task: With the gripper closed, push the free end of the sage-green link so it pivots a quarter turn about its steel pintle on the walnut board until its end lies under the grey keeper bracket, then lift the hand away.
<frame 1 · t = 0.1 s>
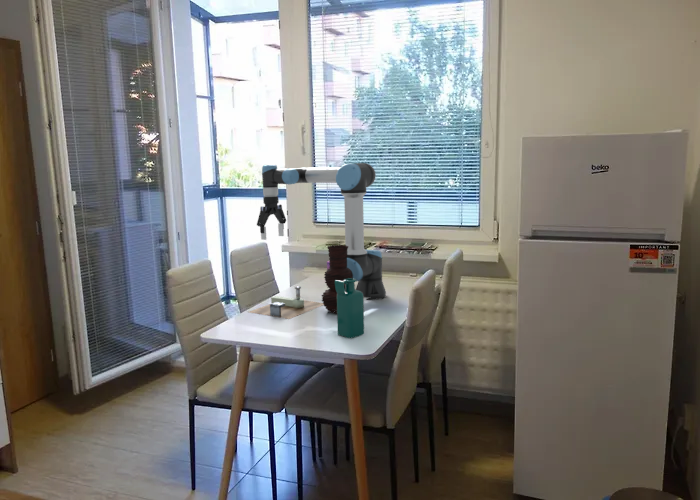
hand: (272, 237, 284), 28 cm above the table, fingers open, 13 cm apart
keeper: (277, 309, 238), on the board, point 4 cm above the table
pintle: (298, 293, 250), point 8 cm above the table
vase: (339, 314, 243), on the table
link: (287, 301, 254), point 3 cm above the table, hinge at 0.0°
box: (337, 283, 305), on the table
green bottle: (349, 335, 215), on the table
board: (288, 310, 250), on the table
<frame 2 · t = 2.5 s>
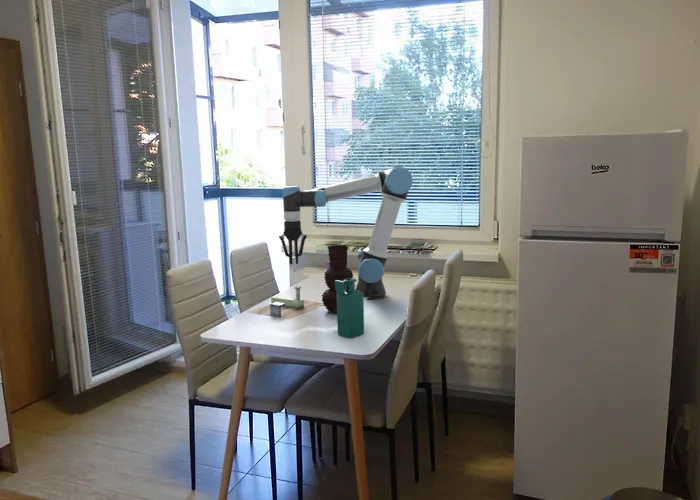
hand: (294, 270, 258), 16 cm above the table, fingers closed
nothing on the table moved.
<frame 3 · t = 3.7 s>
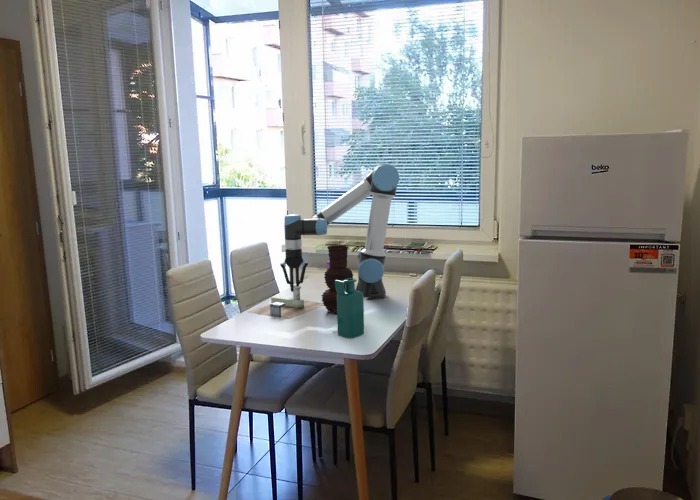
hand: (295, 298, 260), 3 cm above the table, fingers closed
nothing on the table moved.
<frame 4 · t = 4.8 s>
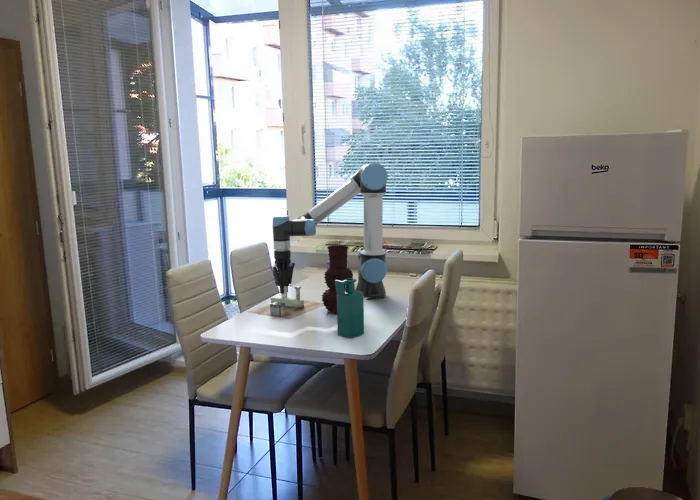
hand: (284, 299, 258), 3 cm above the table, fingers closed
link: (287, 301, 254), point 3 cm above the table, hinge at 1.2°, touching gripper
everything else where it was.
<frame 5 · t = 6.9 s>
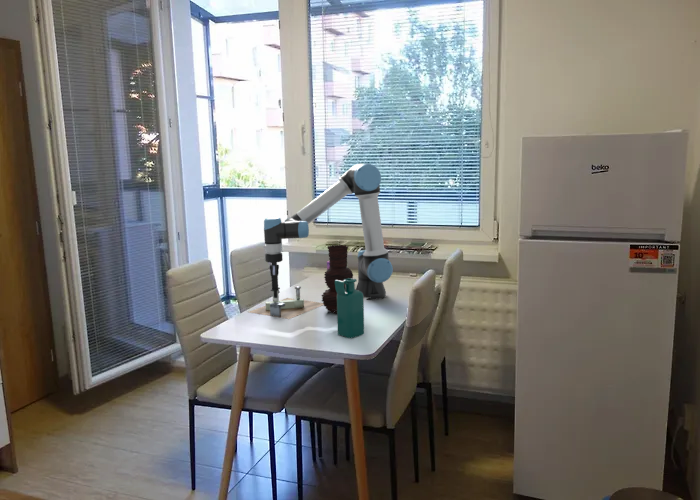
hand: (275, 304, 251), 3 cm above the table, fingers closed
link: (285, 304, 249), point 3 cm above the table, hinge at 44.6°, touching gripper
everything else where it was.
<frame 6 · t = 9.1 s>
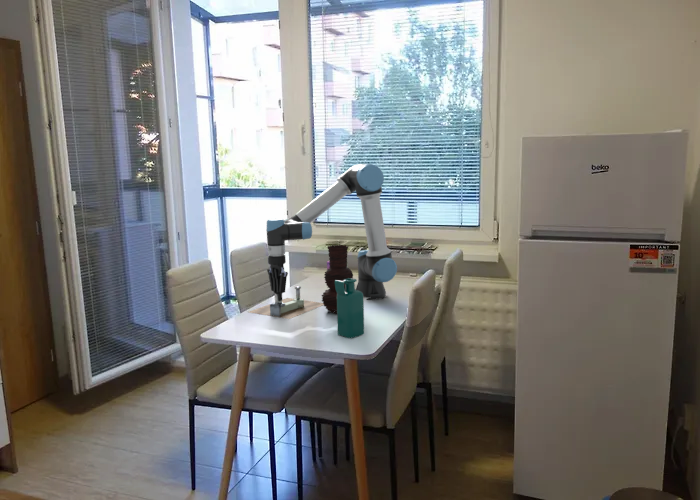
hand: (278, 307, 245), 3 cm above the table, fingers closed
link: (289, 306, 246), point 3 cm above the table, hinge at 83.8°
everything else where it was.
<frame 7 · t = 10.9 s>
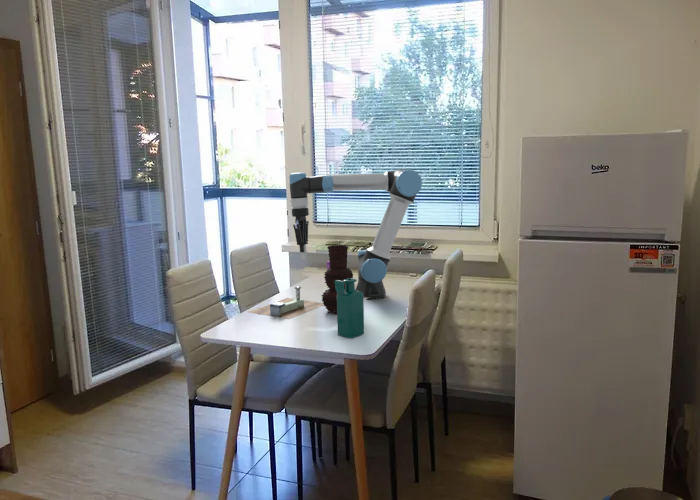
hand: (303, 258, 255), 22 cm above the table, fingers closed
nothing on the table moved.
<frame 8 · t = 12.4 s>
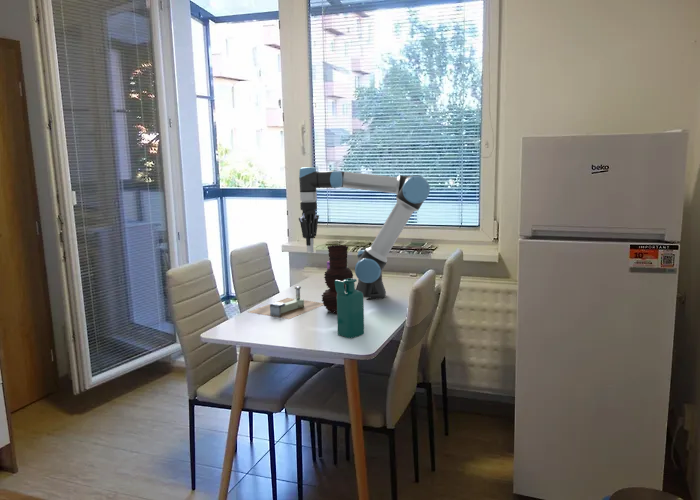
hand: (310, 252, 259), 24 cm above the table, fingers closed
nothing on the table moved.
at the end: link at +84° (first picture: +0°) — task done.
